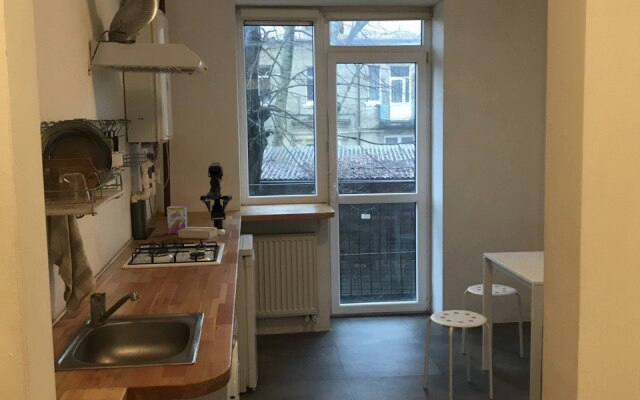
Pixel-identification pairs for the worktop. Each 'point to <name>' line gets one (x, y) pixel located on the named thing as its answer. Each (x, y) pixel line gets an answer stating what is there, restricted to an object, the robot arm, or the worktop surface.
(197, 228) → the flap
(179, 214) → the candy bar box
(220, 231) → the cream dish
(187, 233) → the small cream bookshelf
